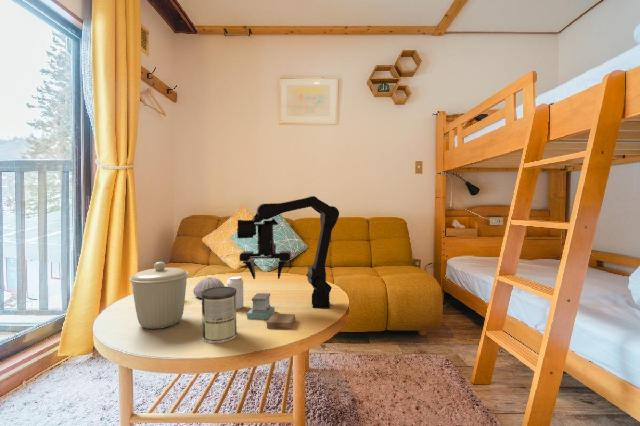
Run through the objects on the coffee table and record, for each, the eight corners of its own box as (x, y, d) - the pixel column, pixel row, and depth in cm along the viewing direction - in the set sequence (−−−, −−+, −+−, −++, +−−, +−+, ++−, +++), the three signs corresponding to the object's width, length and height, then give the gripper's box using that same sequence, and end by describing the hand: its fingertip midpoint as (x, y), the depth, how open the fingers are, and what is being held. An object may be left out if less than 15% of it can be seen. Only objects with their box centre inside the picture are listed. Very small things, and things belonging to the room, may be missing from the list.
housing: (265, 313, 116) (265, 299, 115) (251, 312, 116) (251, 298, 116) (270, 306, 123) (270, 293, 122) (257, 306, 123) (257, 293, 123)
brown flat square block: (295, 319, 114) (295, 314, 114) (291, 328, 106) (291, 322, 106) (272, 319, 115) (272, 313, 115) (267, 328, 107) (266, 322, 107)
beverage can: (224, 308, 127) (223, 277, 127) (238, 304, 132) (237, 274, 131) (232, 312, 123) (231, 280, 122) (246, 308, 127) (246, 277, 127)
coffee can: (195, 337, 100) (194, 291, 100) (224, 327, 108) (223, 284, 108) (214, 346, 94) (213, 297, 93) (244, 335, 102) (243, 290, 101)
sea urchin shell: (199, 302, 135) (199, 283, 135) (189, 295, 145) (188, 277, 145) (230, 296, 143) (230, 278, 143) (218, 289, 154) (218, 272, 154)
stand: (274, 311, 123) (274, 306, 123) (269, 319, 115) (269, 313, 115) (253, 311, 124) (253, 305, 123) (247, 318, 116) (247, 313, 116)
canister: (122, 324, 111) (120, 262, 110) (175, 310, 125) (174, 255, 124) (143, 339, 99) (141, 269, 98) (199, 322, 113) (198, 261, 112)
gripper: (293, 234, 130) (294, 273, 131) (246, 235, 131) (247, 274, 132) (289, 238, 119) (290, 280, 120) (238, 238, 120) (239, 281, 121)
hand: (266, 278), depth 123 cm, fingers open, 9 cm apart
